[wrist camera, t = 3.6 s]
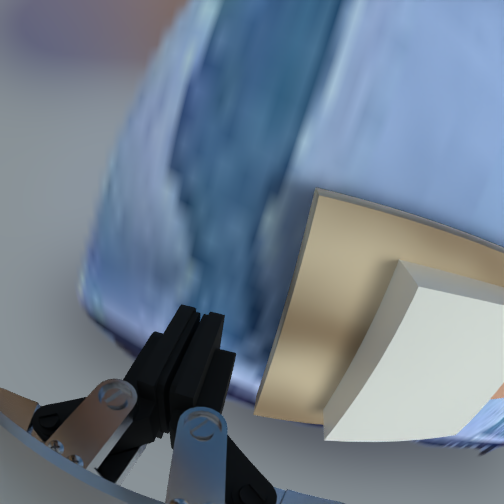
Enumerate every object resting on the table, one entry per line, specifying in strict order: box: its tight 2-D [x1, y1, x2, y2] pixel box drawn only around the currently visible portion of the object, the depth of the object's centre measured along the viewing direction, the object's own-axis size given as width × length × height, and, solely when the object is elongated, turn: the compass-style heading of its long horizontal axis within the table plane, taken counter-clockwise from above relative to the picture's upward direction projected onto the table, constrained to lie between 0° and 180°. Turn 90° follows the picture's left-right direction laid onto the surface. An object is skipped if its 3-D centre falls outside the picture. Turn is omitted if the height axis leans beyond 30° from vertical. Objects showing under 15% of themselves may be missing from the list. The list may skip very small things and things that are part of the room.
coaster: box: [323, 259, 504, 442], centre depth 10 cm, size 9×9×2 cm
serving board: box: [254, 187, 504, 425], centre depth 13 cm, size 12×16×4 cm
